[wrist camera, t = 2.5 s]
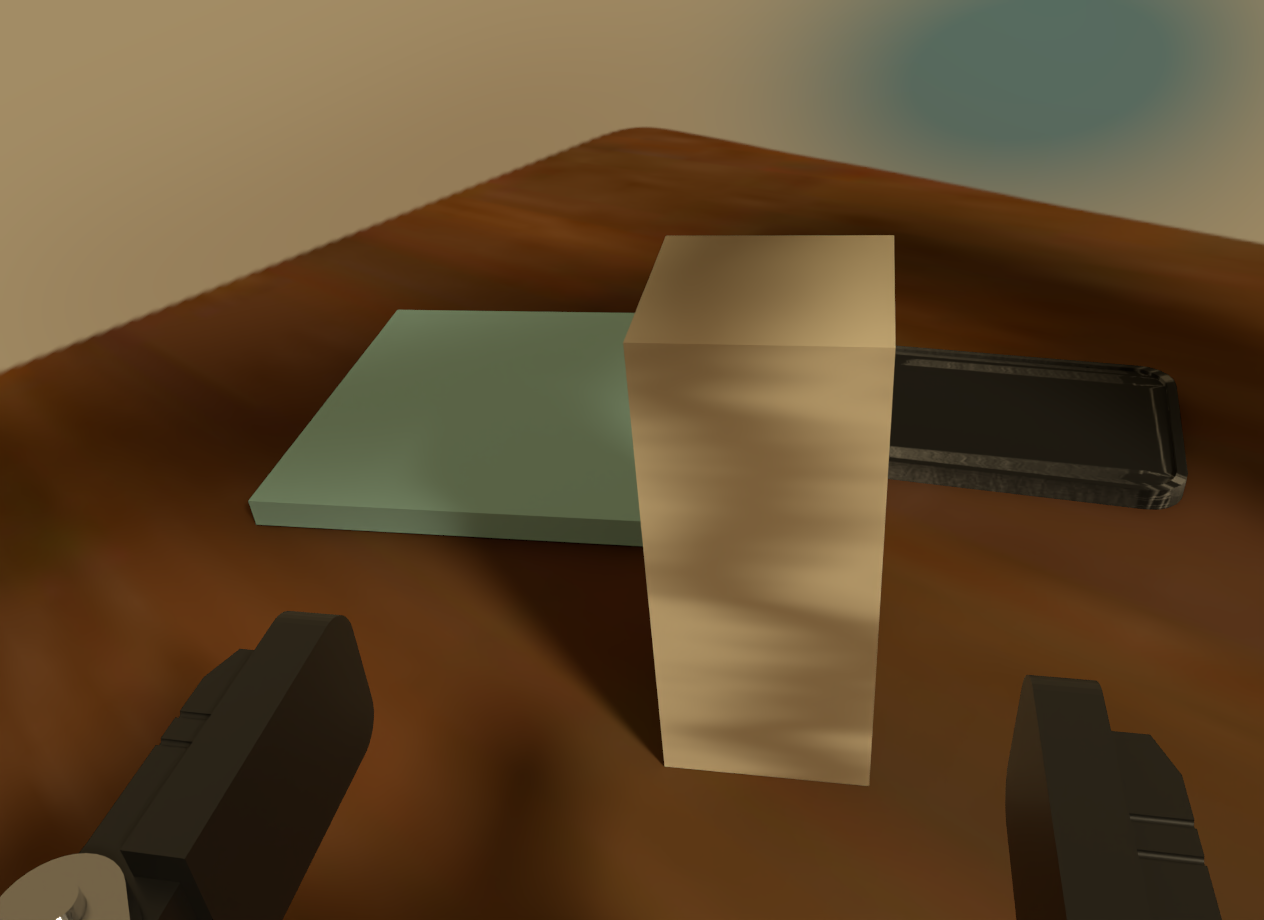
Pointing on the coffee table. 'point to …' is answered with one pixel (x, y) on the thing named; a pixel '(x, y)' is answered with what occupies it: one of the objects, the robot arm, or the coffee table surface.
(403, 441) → the green square tile
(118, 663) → the coffee table surface
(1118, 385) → the phone
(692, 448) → the birch block
